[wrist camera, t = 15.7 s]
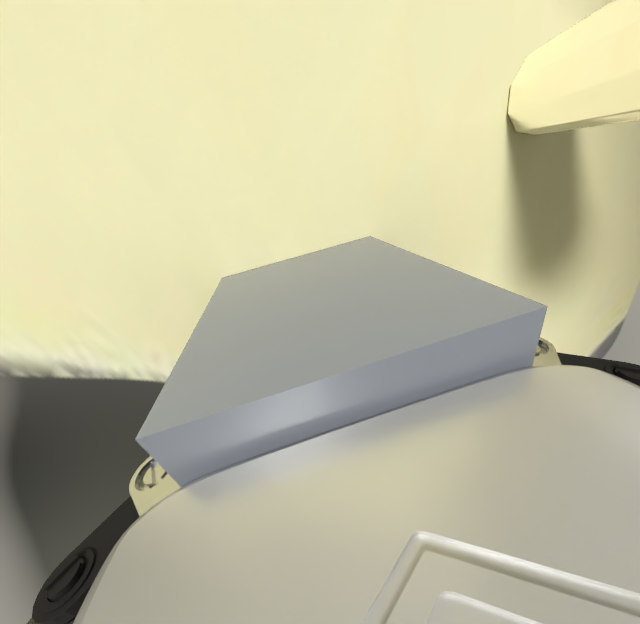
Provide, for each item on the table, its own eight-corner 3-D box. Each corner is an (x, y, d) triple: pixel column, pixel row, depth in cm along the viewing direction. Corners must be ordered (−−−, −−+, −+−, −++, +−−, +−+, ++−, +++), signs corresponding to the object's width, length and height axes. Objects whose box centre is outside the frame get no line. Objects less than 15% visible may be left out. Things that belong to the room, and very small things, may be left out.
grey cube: (222, 277, 12) (135, 439, 4) (370, 236, 12) (547, 306, 5) (271, 389, 15) (277, 588, 8) (384, 352, 16) (497, 503, 8)
